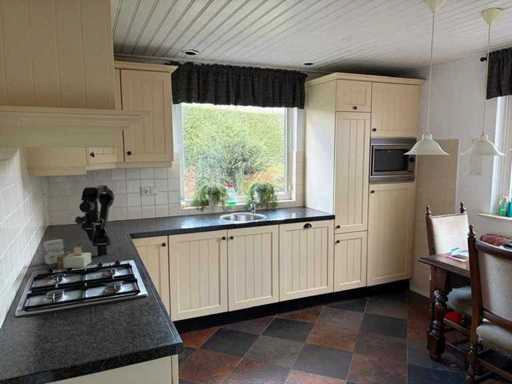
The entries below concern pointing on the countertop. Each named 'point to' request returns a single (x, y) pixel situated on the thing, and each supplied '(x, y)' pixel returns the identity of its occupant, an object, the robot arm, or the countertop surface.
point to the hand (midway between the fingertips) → (94, 239)
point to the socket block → (76, 260)
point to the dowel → (77, 251)
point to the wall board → (60, 259)
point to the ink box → (53, 250)
